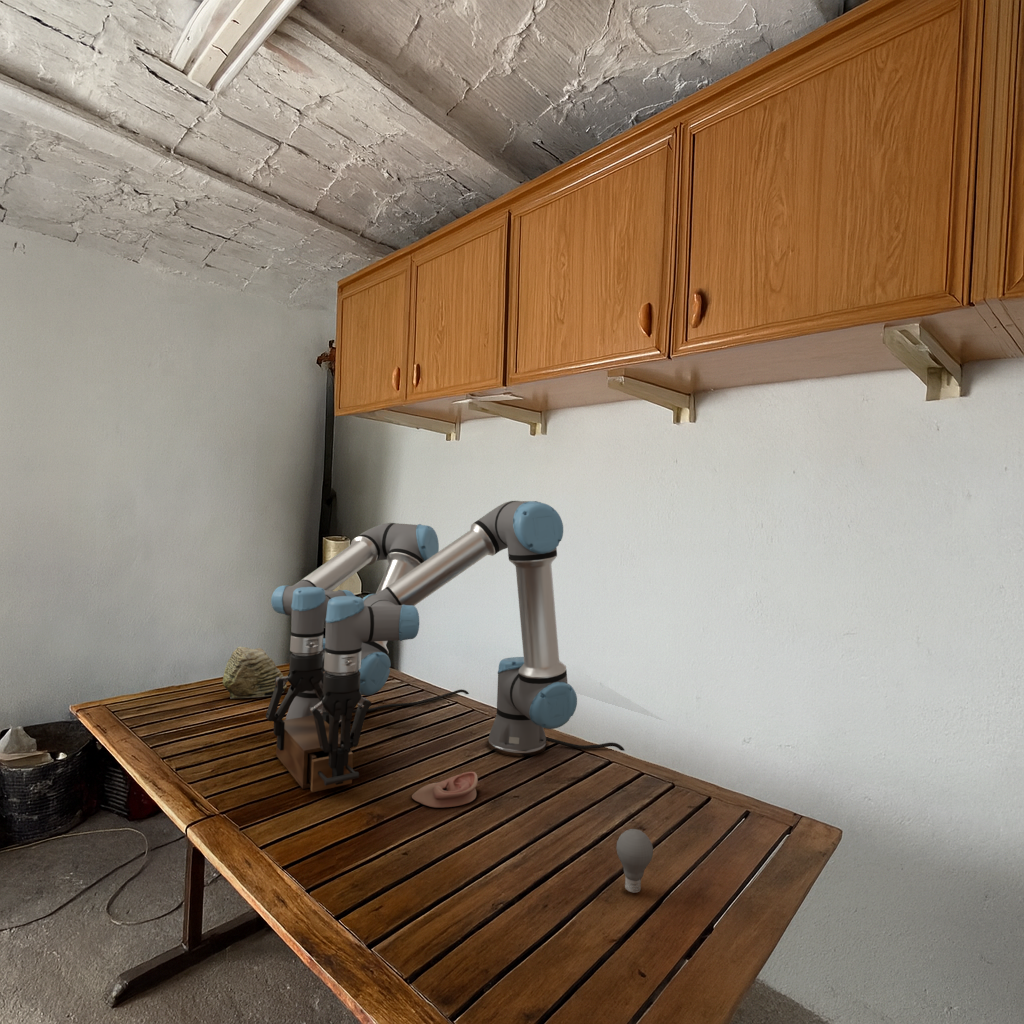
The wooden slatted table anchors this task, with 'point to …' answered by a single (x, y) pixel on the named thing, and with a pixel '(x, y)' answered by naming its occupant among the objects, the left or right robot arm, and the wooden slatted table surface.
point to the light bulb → (634, 857)
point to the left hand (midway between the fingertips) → (302, 744)
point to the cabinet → (300, 746)
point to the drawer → (327, 772)
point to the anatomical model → (449, 791)
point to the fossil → (250, 674)
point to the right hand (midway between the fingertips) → (337, 781)
